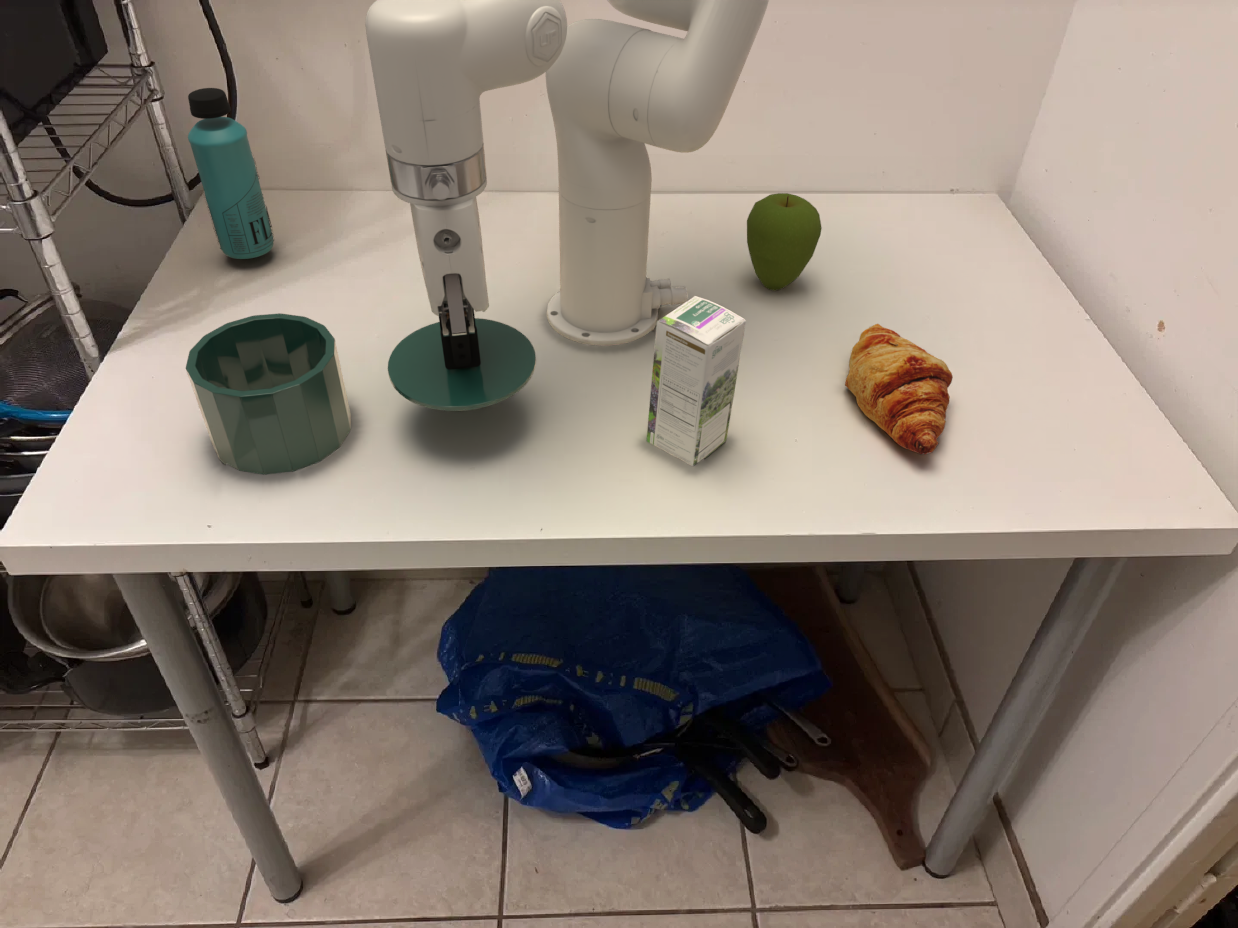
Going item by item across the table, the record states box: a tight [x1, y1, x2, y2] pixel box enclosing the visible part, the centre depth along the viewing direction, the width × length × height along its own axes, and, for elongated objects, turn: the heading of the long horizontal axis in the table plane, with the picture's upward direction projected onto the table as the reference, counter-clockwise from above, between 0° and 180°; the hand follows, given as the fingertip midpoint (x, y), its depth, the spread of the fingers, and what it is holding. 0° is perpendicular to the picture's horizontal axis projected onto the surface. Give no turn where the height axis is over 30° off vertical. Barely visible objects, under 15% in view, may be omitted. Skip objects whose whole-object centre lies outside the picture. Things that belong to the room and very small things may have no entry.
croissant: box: [844, 323, 953, 455], centre depth 94 cm, size 21×10×8 cm, turn 3°
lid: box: [387, 311, 537, 412], centre depth 84 cm, size 14×14×7 cm
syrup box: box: [645, 295, 747, 467], centre depth 85 cm, size 6×6×14 cm
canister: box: [185, 312, 352, 476], centre depth 86 cm, size 13×13×10 cm
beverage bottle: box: [187, 87, 276, 260], centre depth 107 cm, size 6×7×20 cm
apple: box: [746, 192, 823, 291], centre depth 109 cm, size 9×8×12 cm
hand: (461, 354), depth 86 cm, fingers closed on lid, 2 cm apart
